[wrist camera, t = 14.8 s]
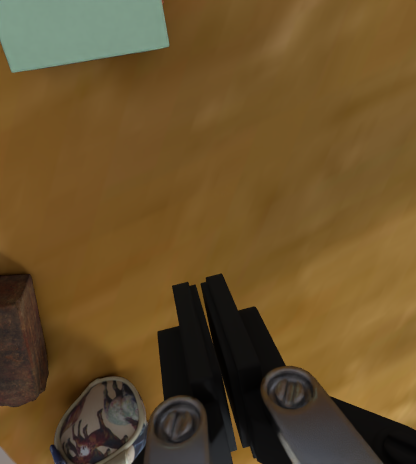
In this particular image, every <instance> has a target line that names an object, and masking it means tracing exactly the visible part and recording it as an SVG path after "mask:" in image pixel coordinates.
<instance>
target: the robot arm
mask: <svg viewBox="0 0 416 464" xmlns="http://www.w3.org/2000/svg"><path fill="white" fill-rule="evenodd" d="M172 288H173V294H174V299H175V304H176V310H177V315H178V321H179V326H177V327H173V328H169V329H165V330H161V331H158V345H159V355H160V364H161V374H162V384H163V394H164V401H163V402H161V403H160V404H159V405H158V406H157V407H156V408H155V410H154V411H153V413H152V414H151V416H150V419H149V423H148V428H147V437H146V445H145V447H144V448H143V449H142V450H141V452H140V453H139V454H138V456H137V457H136V458H135V460H134V461H133V462H132V463H131V464H233V462H232V457H231V453H230V452H232V451H235V450H237V447H236V442H235V437H234V432H233V428H232V423H231V418H230V413H229V408H228V403H227V398H226V393H225V388H226V392H227V395H228V399H229V402H230V406H231V409H232V412H233V416H234V419H235V423H236V426H237V430H238V433H239V437H240V440H241V443H242V447H243V448H245V447H249V446H250V448H251V451H252V454H253V458H257V461H258V462H260V463H262V464H416V430H414V429H412V428H410V427H408V426H406V425H403V424H401V423H398V422H395V421H393V420H390V419H388V418H385V417H382V416H380V415H377V414H375V413H372V412H369V411H367V410H364V409H362V408H359V407H357V406H354V405H351V404H349V403H346V402H344V401H341V400H338V399H336V398H333V397H331V396H329V395H328V394H327V392H326V391H325V390H324V389H323V387H322V386H321V385H320V384H319V382H318V381H317V380H316V379H315V378H314V377H313V376H312V375H311V374H310V373H309V372H308V371H306V370H304V369H302V368H299V367H294V366H286V365H285V363H284V361H283V359H282V357H281V355H280V353H279V351H278V349H277V348H276V346H275V344H274V342H273V340H272V338H271V336H270V334H269V332H268V330H267V328H266V326H265V324H264V322H263V320H262V318H261V316H260V314H259V312H258V310H257V308H256V307H255V306H254V307H250V308H246V309H242V310H239V311H238V310H237V307H236V305H235V303H234V300H233V298H232V296H231V293H230V291H229V289H228V286H227V284H226V282H225V279H224V277H223V275H222V274H218V275H214V276H210V277H206V282H204V283H201V288H202V293H203V298H204V303H205V308H206V312H207V317H208V322H209V327H210V331H211V336H212V339H211V336H210V332H209V329H208V326H207V322H206V319H205V315H204V312H203V308H202V305H201V301H200V298H199V295H198V291H197V288H196V285H192V286H189V283H188V282H185V283H181V284H177V285H173V286H172ZM212 341H213V343H212ZM221 374H222V375H221ZM222 378H223V379H222ZM223 381H224V383H223ZM224 385H225V388H224Z"/></svg>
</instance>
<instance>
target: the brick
mask: <svg viewBox="0 0 416 464" xmlns="http://www.w3.org/2000/svg"><path fill="white" fill-rule="evenodd" d="M46 354H47V353H46V348H45V343H44V338H43V332H42V327H41V323H40V317H39V313H38V307H37V301H36V297H35V293H34V288H33V282H32V278H31V275H30V274H25V275H9V276H0V406H9V407H18V406H21V405H23V404H26V403H28V402H30V401H34V400H36V399H37V397H38V396H39V394H40V393H42V392H43V391H45V388H46V382H47V378H48V375H49V371H48V361H47V356H46Z"/></svg>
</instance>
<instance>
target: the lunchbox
mask: <svg viewBox="0 0 416 464" xmlns="http://www.w3.org/2000/svg"><path fill="white" fill-rule="evenodd" d="M163 4H164V1H163V0H0V41H1V44H2V47H3V50H4V53H5V55H6V58H7V61H8V64H9V66H10V69H11V71H12V72H21V71H28V70H36V69H43V68H49V67H55V66H61V65H67V64H73V63H79V62H85V61H91V60H97V59H103V58H109V57H115V56H121V55H127V54H133V53H139V52H145V51H151V50H157V49H162V48H166V47H169V40H168V34H167V29H166V23H165V17H164V11H163V6H162V5H163Z"/></svg>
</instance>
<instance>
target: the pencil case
mask: <svg viewBox="0 0 416 464" xmlns="http://www.w3.org/2000/svg"><path fill="white" fill-rule="evenodd" d="M147 428H148V422H147V420H146V411H145V407H144V404H143V401H142V399H141V397H140V395H139V393H138V391H137V390H136V388H135V387H134V386H133V384H132V383H131V382H130V381H128V380H127V379H125V378H122V377H116V376H113V377H105V378H102V379H99V378H98V379H96V380H95V381H93V382H92V383H90V384H89V386H88V387H87V388H86V389H85V390H84V391H83V392H82V394H81V395H80V397H79V398H78V399H77V400H76V401H75V402H74V403H73V404H72V405H71V406H70V408H69V409H68V410H67V411H66V413H65V414H64V415H63V417H62V419H61V420H60V422H59V424H58V427H57V429H56V433H55V438H54V445H51V446H50V451H51V453H52V456H53V459H54V463H55V464H131V463H132V462H133V461H134V460H135V458H136V457H137V456H138V454H139V453H140V452H141V450H142V449H143V448H144V447H145V445H146V437H147Z"/></svg>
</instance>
